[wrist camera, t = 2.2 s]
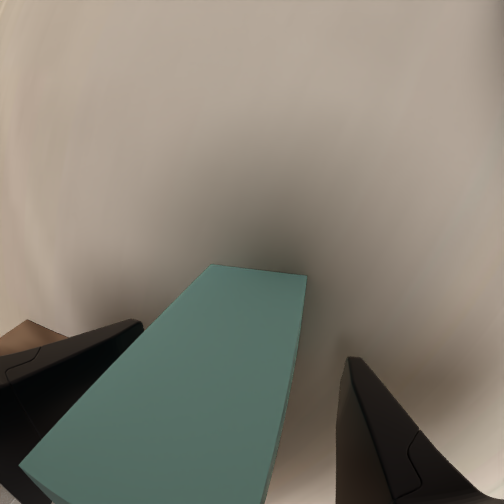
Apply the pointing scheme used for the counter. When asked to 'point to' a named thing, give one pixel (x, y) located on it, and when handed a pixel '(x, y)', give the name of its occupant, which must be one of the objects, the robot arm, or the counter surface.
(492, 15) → the counter surface
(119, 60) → the counter surface
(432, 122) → the counter surface
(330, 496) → the counter surface
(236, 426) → the peg
